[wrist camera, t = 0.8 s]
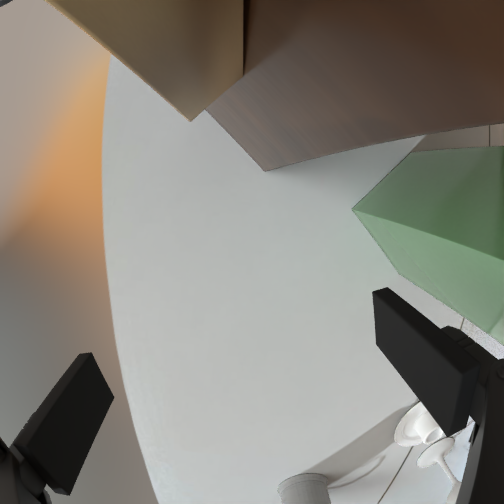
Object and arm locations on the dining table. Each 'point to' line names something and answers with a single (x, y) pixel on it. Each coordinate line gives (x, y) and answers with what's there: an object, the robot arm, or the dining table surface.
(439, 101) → the stand
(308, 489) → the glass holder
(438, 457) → the wineglass
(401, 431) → the candle holder
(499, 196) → the green stand
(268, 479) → the dining table surface
